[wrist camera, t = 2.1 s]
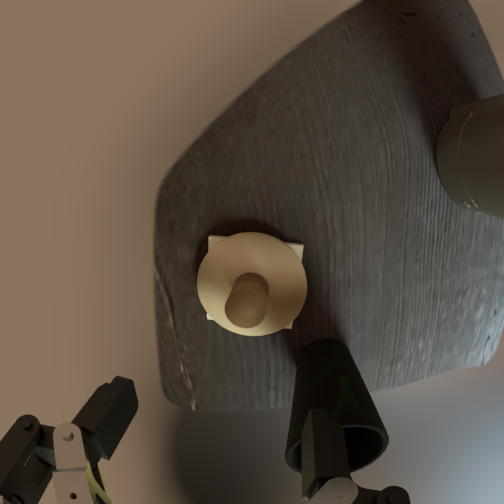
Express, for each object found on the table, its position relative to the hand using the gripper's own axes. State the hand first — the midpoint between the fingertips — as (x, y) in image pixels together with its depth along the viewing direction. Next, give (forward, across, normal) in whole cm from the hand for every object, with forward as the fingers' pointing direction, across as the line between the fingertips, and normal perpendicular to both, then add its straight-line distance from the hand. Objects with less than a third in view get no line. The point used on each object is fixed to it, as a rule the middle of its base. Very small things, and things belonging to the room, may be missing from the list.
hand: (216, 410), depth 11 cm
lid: (+15, 0, 0) cm, 15 cm away
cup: (+15, -8, +8) cm, 19 cm away
